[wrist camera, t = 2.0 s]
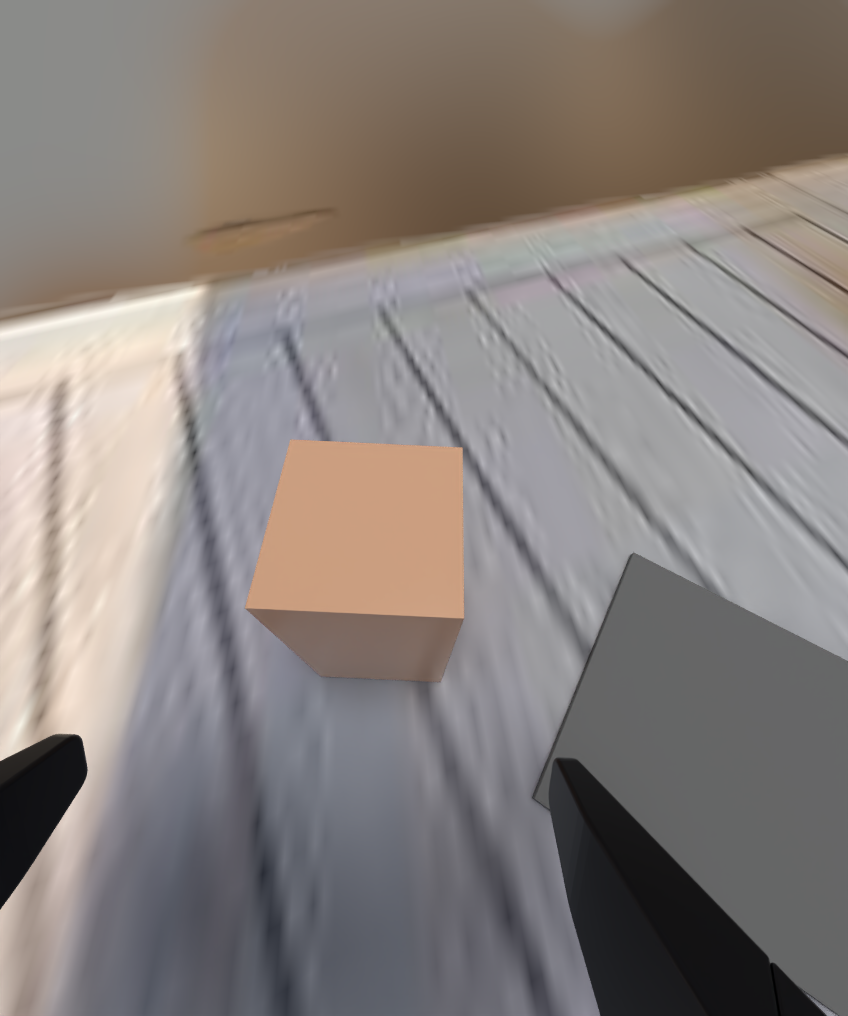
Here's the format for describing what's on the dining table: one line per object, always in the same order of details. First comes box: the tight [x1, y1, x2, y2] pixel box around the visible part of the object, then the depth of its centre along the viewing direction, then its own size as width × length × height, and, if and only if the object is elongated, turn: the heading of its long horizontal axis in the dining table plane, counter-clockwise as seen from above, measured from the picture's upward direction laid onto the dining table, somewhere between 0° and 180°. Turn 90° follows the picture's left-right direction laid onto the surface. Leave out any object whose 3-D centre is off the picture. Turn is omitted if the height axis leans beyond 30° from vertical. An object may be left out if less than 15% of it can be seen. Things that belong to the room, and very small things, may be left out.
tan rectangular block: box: [245, 440, 464, 682], centre depth 18 cm, size 6×6×11 cm
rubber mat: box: [533, 553, 848, 1016], centre depth 19 cm, size 14×14×1 cm
